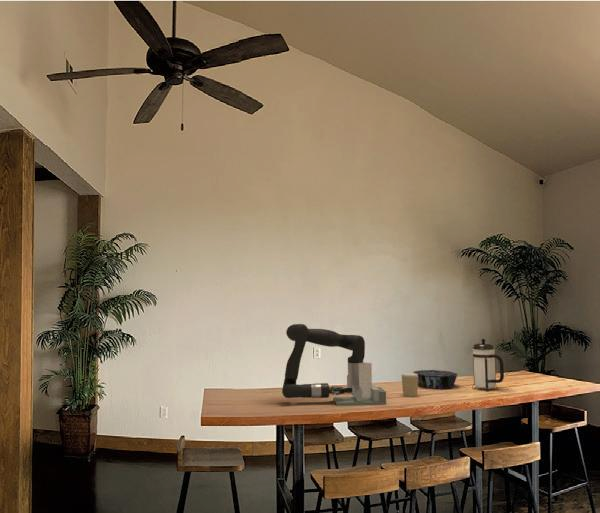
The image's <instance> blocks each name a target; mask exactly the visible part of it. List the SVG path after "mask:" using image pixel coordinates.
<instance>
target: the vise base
mask: <svg viewBox="0 0 600 513" xmlns="http://www.w3.org/2000/svg"><path fill="white" fill-rule="evenodd" d="M332 401H333V402H334V403H336V404H335V406H337V407H339V406H341V407H342V406H344V407H346V406H376V405H377V406H378V405H379V406H381V405H383V406H384V405H385V404H386V405H387V391H386V390H385V389H384V388H382V387H381V386H376V385H373V384H372V400H362V401H359V402H357V401H356V400H355V399H354V398H353V396H333V398H332Z"/></svg>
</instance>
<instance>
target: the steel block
mask: <svg viewBox="0 0 600 513" xmlns="http://www.w3.org/2000/svg"><path fill="white" fill-rule="evenodd" d="M372 370H373V369H372V363H371V362H363V363H359V387H360V388H361V389H362V400H372V385H373V382H372V381H373V378H372V377H373V375H372V374H373V372H372Z"/></svg>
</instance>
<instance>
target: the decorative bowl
mask: <svg viewBox="0 0 600 513" xmlns="http://www.w3.org/2000/svg"><path fill="white" fill-rule="evenodd" d="M413 373H415V374H418V386H419V387H422V388H425V389H432V390H436V389H437V390H441V389H442V390H445V389H452V388H454V386H455V383H456V380H457V376H458V375H459V374H458V372H454V371H448V370H439V369H421V370H415V371H413Z"/></svg>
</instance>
